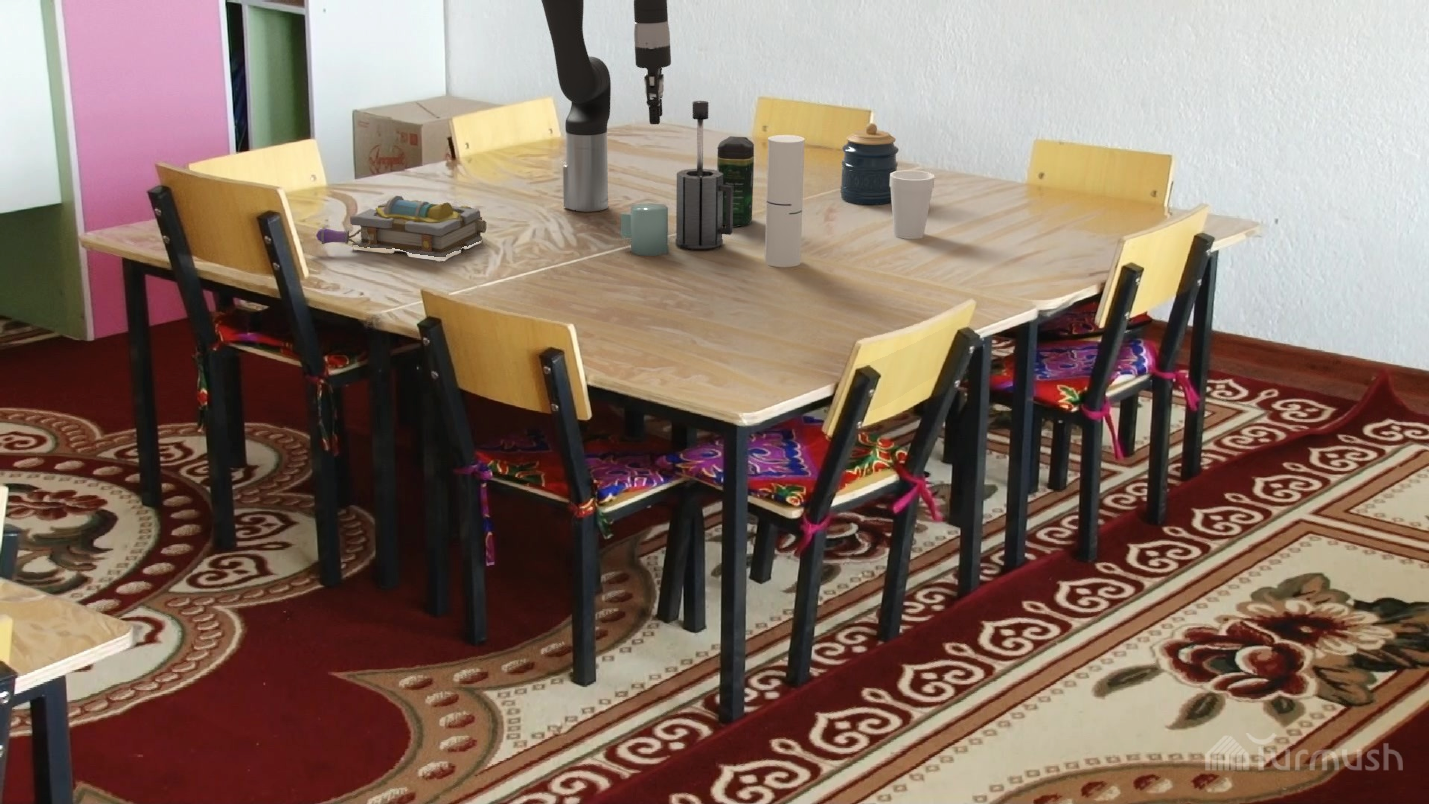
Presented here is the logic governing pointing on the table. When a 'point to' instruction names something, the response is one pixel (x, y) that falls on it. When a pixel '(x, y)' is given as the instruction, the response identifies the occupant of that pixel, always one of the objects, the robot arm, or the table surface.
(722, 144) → the coffee jar
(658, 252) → the teal mug
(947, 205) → the table surface
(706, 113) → the plunger
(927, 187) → the foam cup
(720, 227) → the faceted grey mug
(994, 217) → the table surface
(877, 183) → the canister
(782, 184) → the cylindrical container
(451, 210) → the decorative book
